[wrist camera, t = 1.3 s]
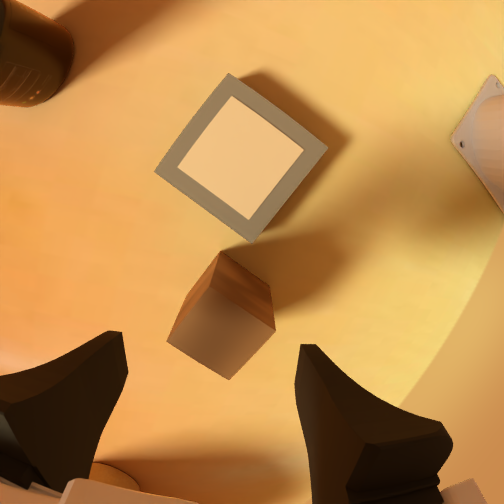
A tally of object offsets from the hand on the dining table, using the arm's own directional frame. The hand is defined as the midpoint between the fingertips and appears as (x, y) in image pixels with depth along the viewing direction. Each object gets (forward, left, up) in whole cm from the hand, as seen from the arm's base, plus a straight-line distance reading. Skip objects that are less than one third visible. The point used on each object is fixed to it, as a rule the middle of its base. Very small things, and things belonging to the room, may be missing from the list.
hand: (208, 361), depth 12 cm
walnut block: (-1, +1, -10) cm, 10 cm away
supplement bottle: (+21, -4, -10) cm, 23 cm away
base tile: (+4, -7, -10) cm, 12 cm away
